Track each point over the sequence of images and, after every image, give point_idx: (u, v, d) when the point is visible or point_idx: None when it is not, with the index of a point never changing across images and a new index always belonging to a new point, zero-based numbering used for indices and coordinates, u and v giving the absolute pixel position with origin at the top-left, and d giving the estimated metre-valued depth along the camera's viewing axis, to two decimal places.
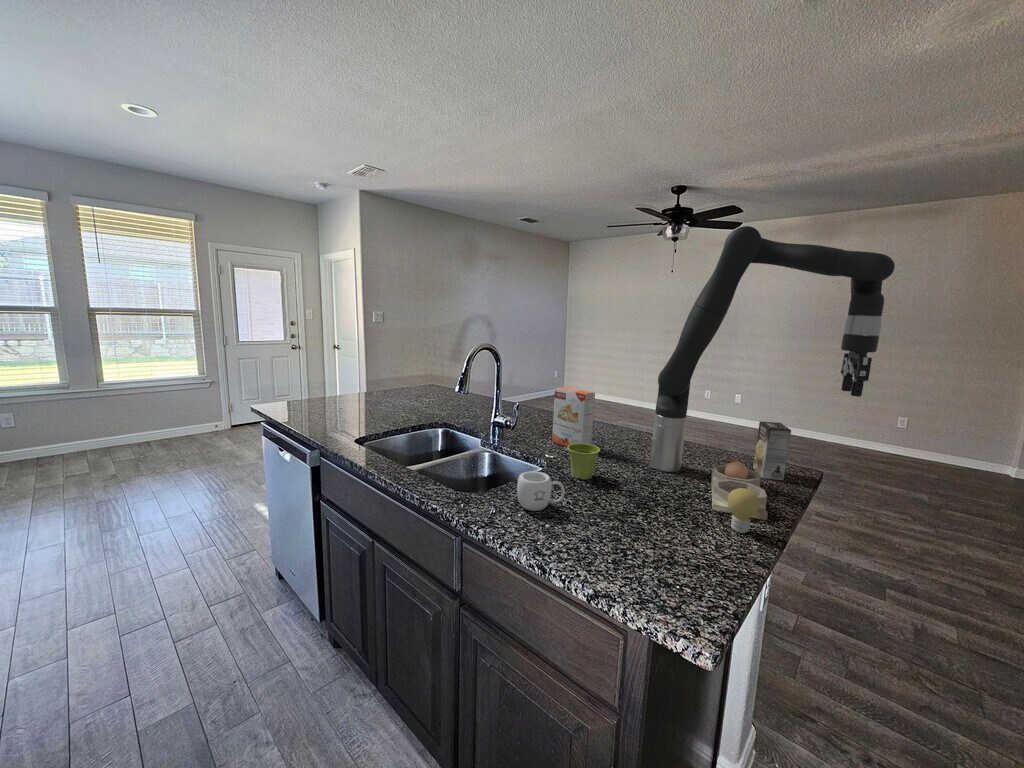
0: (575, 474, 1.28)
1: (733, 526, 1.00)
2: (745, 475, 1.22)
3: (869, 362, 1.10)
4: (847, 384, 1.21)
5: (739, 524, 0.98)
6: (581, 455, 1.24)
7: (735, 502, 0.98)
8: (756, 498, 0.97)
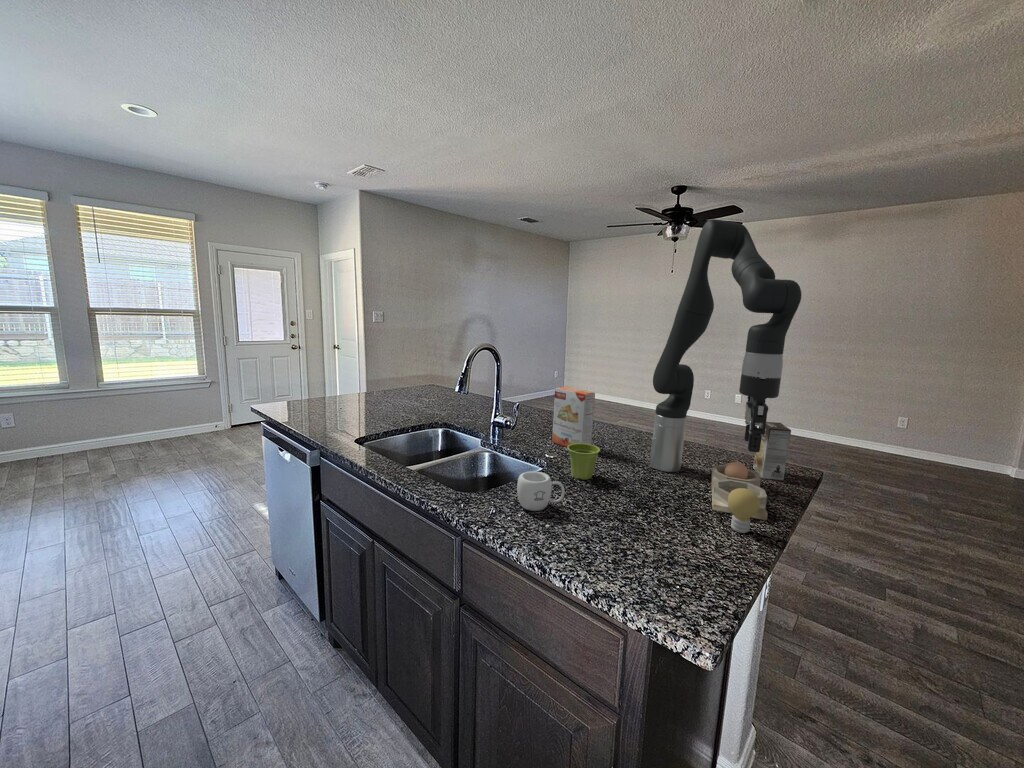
0: (575, 474, 1.28)
1: (733, 526, 1.00)
2: (745, 475, 1.22)
3: (765, 412, 0.89)
4: None
5: (739, 524, 0.98)
6: (581, 455, 1.24)
7: (735, 502, 0.98)
8: (756, 498, 0.97)
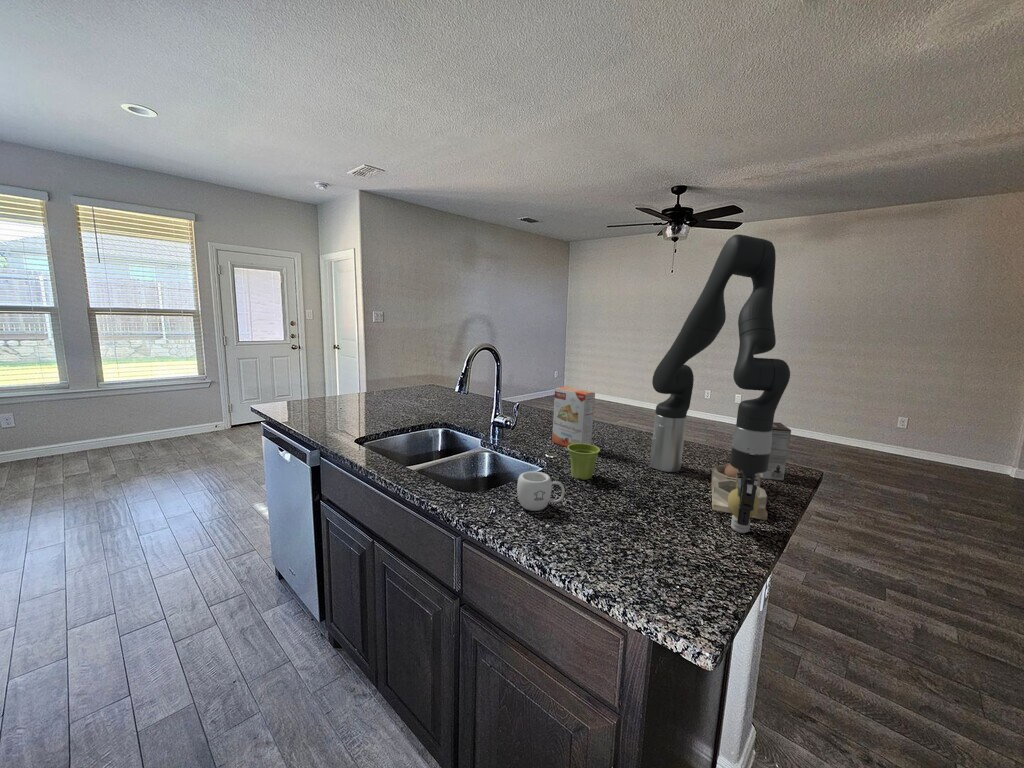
0: (575, 474, 1.28)
1: (733, 526, 1.00)
2: None
3: (753, 491, 0.92)
4: None
5: (739, 524, 0.98)
6: (581, 455, 1.24)
7: (735, 502, 0.98)
8: (756, 498, 0.97)
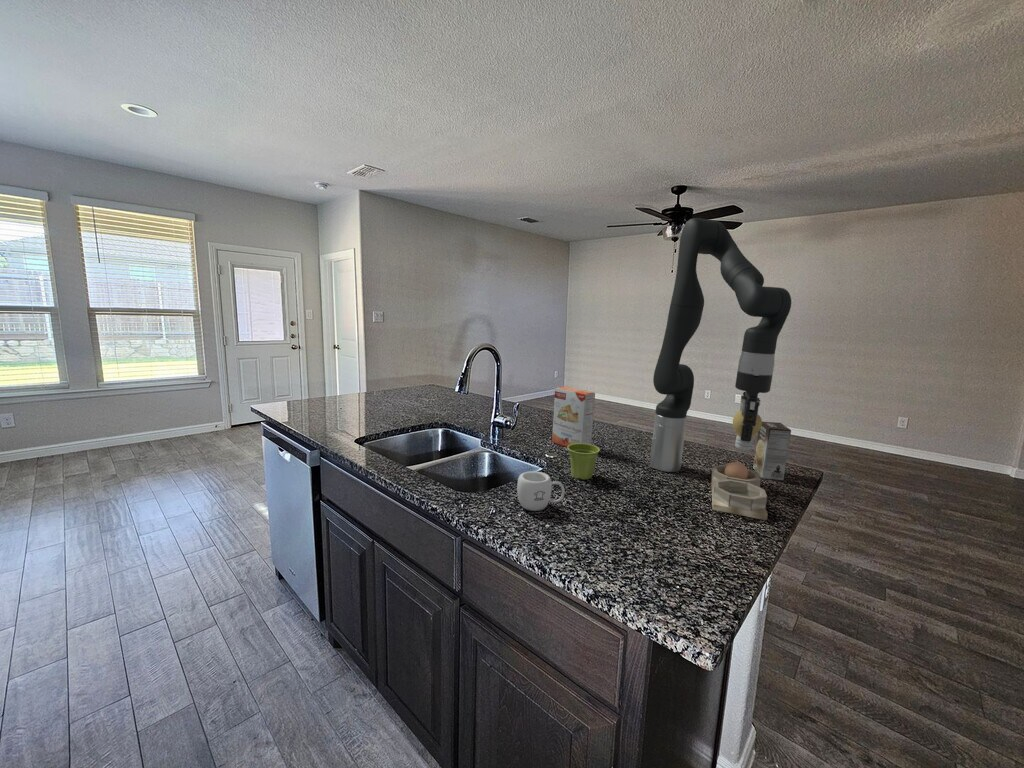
0: (575, 474, 1.28)
1: (737, 444, 1.09)
2: (745, 475, 1.22)
3: (756, 407, 1.01)
4: None
5: (742, 442, 1.08)
6: (581, 455, 1.24)
7: (739, 421, 1.07)
8: (759, 417, 1.06)
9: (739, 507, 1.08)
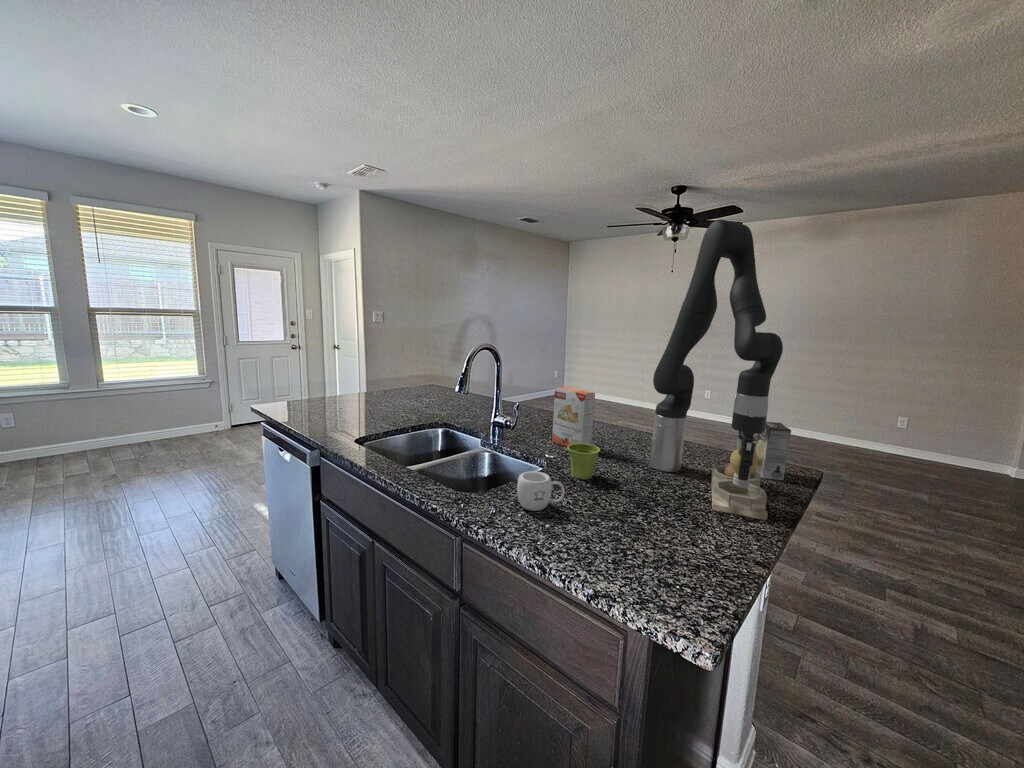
0: (575, 474, 1.28)
1: (735, 482, 1.13)
2: None
3: (752, 448, 1.05)
4: None
5: (740, 480, 1.11)
6: (581, 455, 1.24)
7: (736, 460, 1.11)
8: (755, 456, 1.10)
9: (739, 507, 1.08)
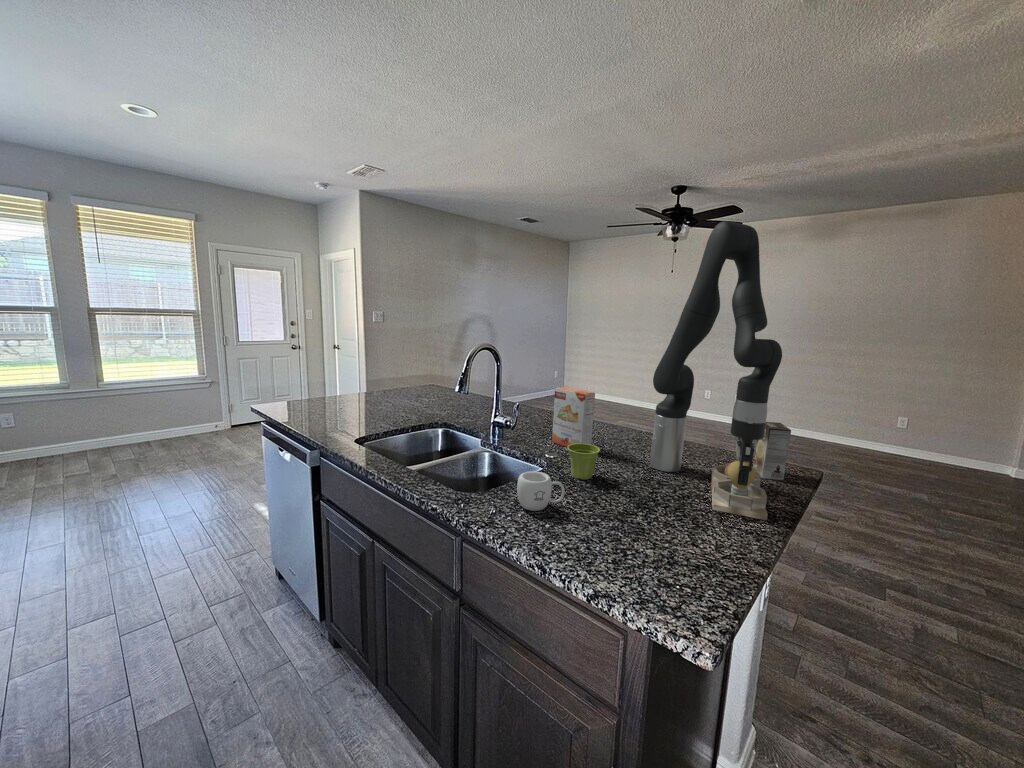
0: (575, 474, 1.27)
1: None
2: None
3: (751, 453, 1.05)
4: None
5: (738, 491, 1.13)
6: (581, 455, 1.24)
7: (734, 472, 1.12)
8: (752, 468, 1.11)
9: (739, 507, 1.08)
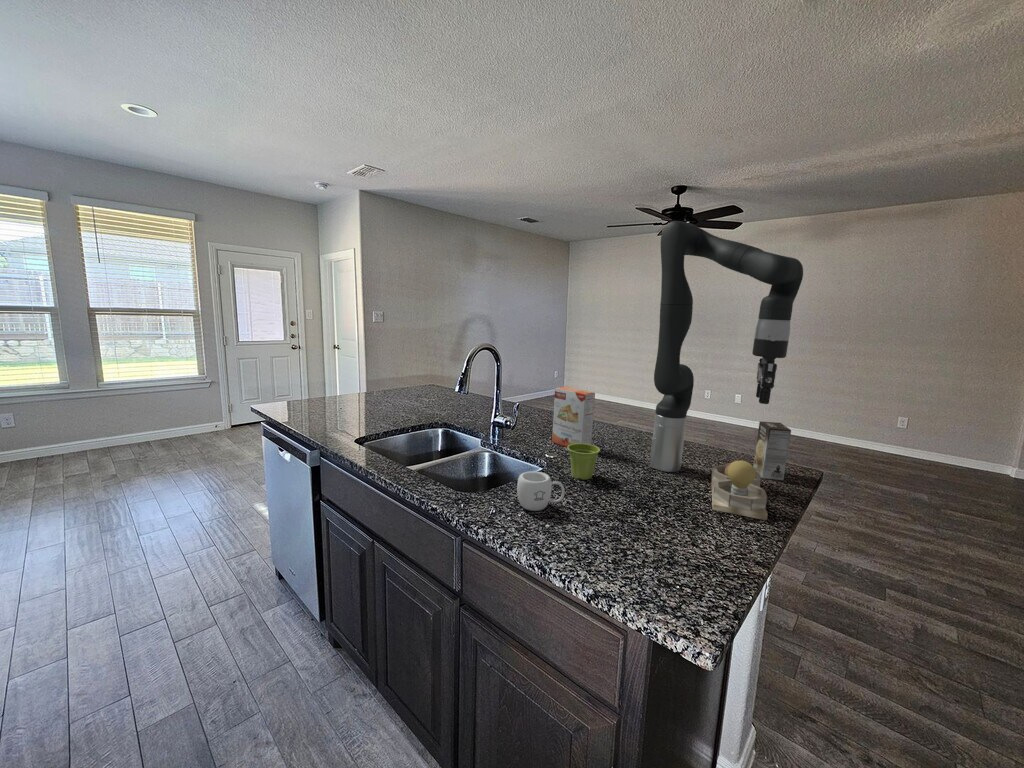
0: (575, 474, 1.27)
1: None
2: None
3: (774, 368, 1.05)
4: None
5: (738, 491, 1.13)
6: (581, 455, 1.24)
7: (734, 472, 1.12)
8: (752, 468, 1.11)
9: (739, 507, 1.08)
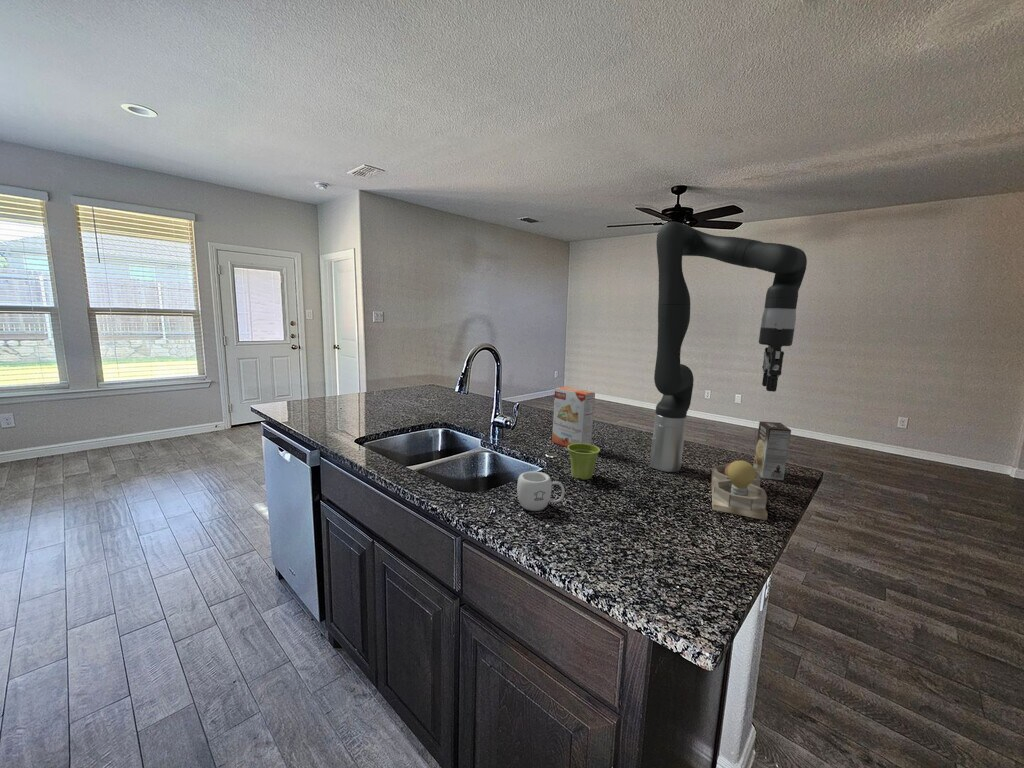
0: (575, 474, 1.27)
1: None
2: None
3: (781, 356, 1.07)
4: None
5: (738, 491, 1.13)
6: (581, 455, 1.24)
7: (734, 472, 1.12)
8: (752, 468, 1.11)
9: (739, 507, 1.08)
